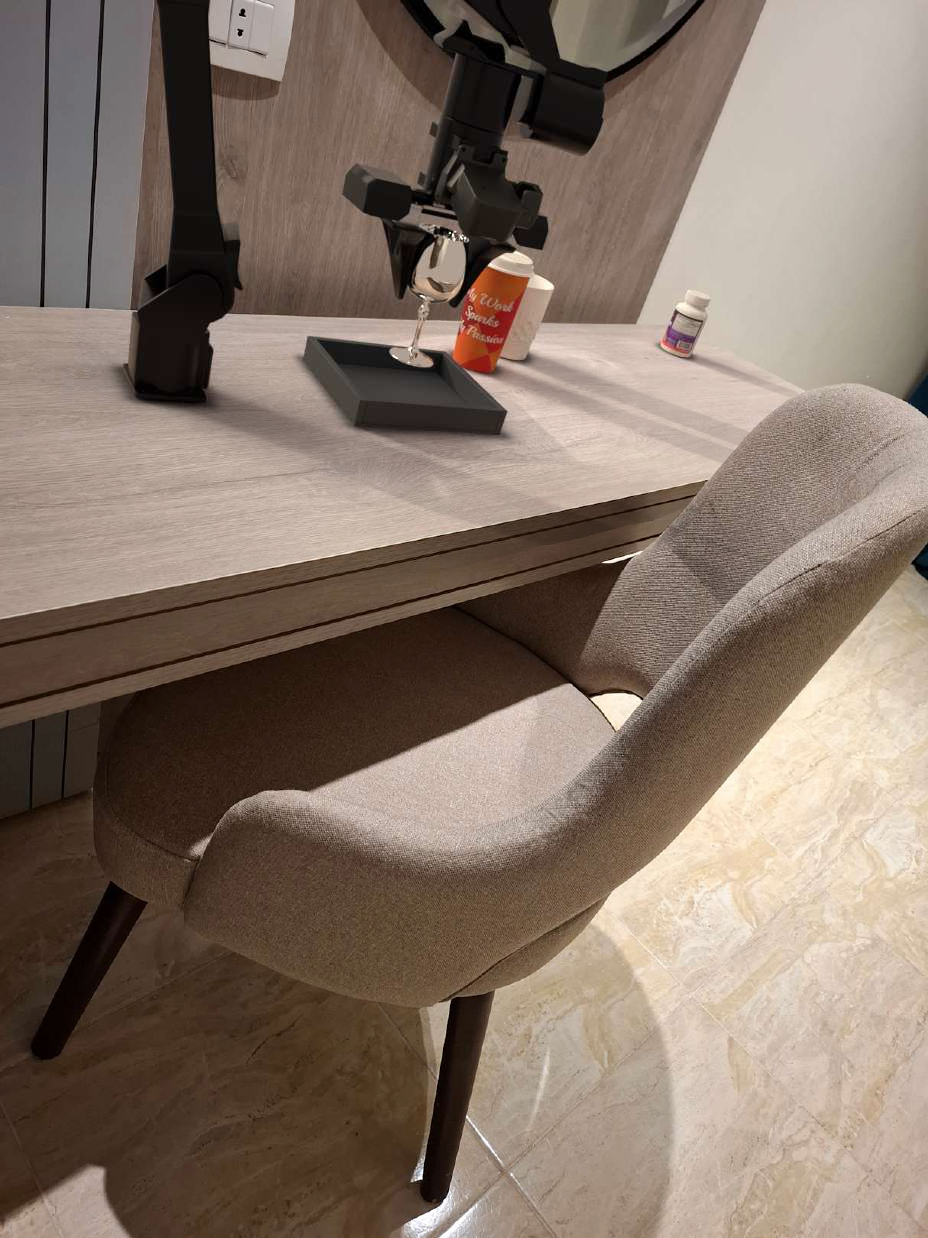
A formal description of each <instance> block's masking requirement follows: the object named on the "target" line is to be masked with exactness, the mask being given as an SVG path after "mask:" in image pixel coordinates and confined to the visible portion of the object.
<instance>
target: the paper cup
mask: <svg viewBox="0 0 928 1238" xmlns="http://www.w3.org/2000/svg"><path fill="white" fill-rule="evenodd" d="M533 264H534V261H533V259H531V258H530V257H529V256H527V255H525V254H524V253H521V252H519V251H517V250H516V251H515V252H514V253H505V254H503V255H501V256H499V257H497V258H495V259H494V260H492V261H491V262H490V264H489V265H488V266H487V267H486V268H485V269H484V270H483V272H482V273H481V274H480V276H479V277H478V278H477V280H476V281H475V283H474V284H473V285H472V287H471V288H470V290H469V291H468V292H467V294H466V295H465V298H464V304H463V308H462V312H461V318H460V322H459V325H458V331H457V334H456V339H455V344H454V348H453V352H452V358H453V359H454V360H455V361H456V362H457V363H458V364H459V365H460V366H461V367H462V368H464V369H467V370H469V371H473V372H477V373H482V374H489V373H492V372H494V370H495V368H496V366H497V363H498V361H499V359H500V354H501V351H502V349H503V346H504V344H505V341H506V339H507V336H508V333H509V331H510V328H511V326H512V323H513V321H514V318H515V315H516V313H517V310H518V308H519V305H520V302H521V300H522V297H523V295H524V292H525V289H526V287H527V284H528V282H529V279H530V277H534V276H535V275H536V273H535V272H534V269H535V266H534V265H533Z"/></svg>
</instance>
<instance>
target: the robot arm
mask: <svg viewBox="0 0 928 1238" xmlns="http://www.w3.org/2000/svg"><path fill="white" fill-rule="evenodd" d="M453 1H454V2H455V3H456V4H458V6H460V8H462V9H463V10H464V11H465V12H466V13H467V14H469V15H470V16H471V18H473V19H474V20H475V21H476V22H478V23H479V24H480V25H481V26H483V27H485V28H486V29H489V30H491V31H493V32H496V33H498V34H499V35H500V37H501V38H502V40H503V41H504V43H505V44H506V45H507V48H508V49H509V50H511V51H512V52H513V53H514V52H515V53H517V54H518V55H521V56H522V57H525V58H527V59H529V60H530V64H529V67H526V66H523V65H520V64H517V63H515V62H512V61H509V60H507V59H506V50H505V46H504V44H503V43H502V42H498V41H495V40H493V39H490V38H487V37H484V36H482V35H478V34H476V33H473V32H472V30H471V28H470V23H469V21H468V20H466V19H465V18H462V17H457V19H456V20H455V21H454V22H453V23H452V24H451V25H450V26H449V27H447V28H446V29H445V28H444V30H442V31H440V32H438V33H436V34H435V35H434V36H433V42H434V44H435V45H437V46H438V47H440V48H442V49H444V50H446V51H448V52H452V53H455V57H454V61H453V65H452V69H451V72H450V77H449V81H448V84H447V89H446V93H445V97H444V101H443V105H442V109H441V113H440V117H439V121H438V122H436V121H432V122H431V125H430V129H429V133H428V134H429V135H430V136H431V137H433V138H434V142H433V146H432V150H431V154H430V156H429V161H428V166H427V169H426V172H424V171H419V173H418V177H417V181H416V184H417V185H419V186H420V187H422V189H420V188H417V187H413V186H411V185H410V184H409V183H408V182H406V181H405V180H403V179H402V178H401V177H400V176H398V175H397V174H395V173H394V172H393V171H390V170H387V169H382V168H378V167H374V166H369V165H364V164H361V163H357V162H356V163H355V164H354V165H353V166H352V167H351V168H349V170H348V171H347V172H346V174H345V178H344V183H343V187H342V192H341V195H342V196H343V197H344V198H346V200H348V202H350V203H351V204H352V205H354V206H355V207H356V208H357V210H359V211H360V212H362V213H363V214H366V215H368V216H370V217H374V218H379V219H380V220H381V223H382V228H383V231H384V234H385V240H386V244H387V249H388V255H389V262H390V263H389V264H390V270H391V271H390V272H391V277H392V285H393V293H394V296H395V298H397V300H399V301H402V300H404V297H405V295H406V292H407V290H408V288H407V286H408V282H409V277H410V273H411V268H412V263H413V259H414V254H415V249H416V246H417V244H418V242H419V241H420V240H421V238H422V237H423V236H424V235H425V233H426V231H424V230H423V229H422V228H421V227H420V225H419V223H420V219H421V215H422V214H423V215H427V216H433V217H436V218H442V219H446V220H452V221H456V222H457V225H458V227H459V229H460V230H461V234H462V235H464V236H466V237H467V238H468V239H469V250H468V263H467V270H466V275H465V279H464V282H463V285H462V287H461V289H460V291H459V293H458V294H457V295H456V296H455V297H454V298H453V299H452V300H450V301H448V305H449V306H450V307H451V308H452V309H457V308H458V307H459V305H460V304H461V303H462V301H463V300H464V299H465V298H466V294H467V292H468V291H469V290H470V288H471V287H472V285H473V284H474V283H475V281H476V280H477V278H478V277H479V276H480V274H481V273H482V272H483V270H484V269H485V268H486V267H487V266H488V265H489V264H490V262H491V261H492V260H494V259H495V258H497V257H499V256H501V255H503V254H505V253H514V252H515V251H517V247H516V246H514V245H512V244H511V240H512V237H513V239H514V241H515V243H516V245H518V246H519V247H523V248H528V249H534V250H538V251H544V250H545V248H546V245H547V241H548V239H549V236H550V231H551V230H550V222H549V219H548V217H547V216H546V215H545V214H543V213H541V212H540V209H541V207H542V206H541V205H542V202H543V197H544V192H543V191H542V189H541V187H540V185H538V184H537V183H532V182H528V181H524V180H520V181H519V182H517V181H513V180H509V179H508V178H506V170H507V169H506V168H507V165H508V161H509V158H508V155H509V150H507V149H505V148H503V144H504V140H505V137H506V133H507V131H508V130H507V129H508V126H509V122H510V119H511V116H512V118H513V121H514V123H515V124H519V133H520V137H521V139H523V140H525V141H528V142H529V141H530V142H533V143H536V144H539V145H542V146H546V147H548V148H552V149H555V150H559V151H562V152H565V153H568V154H571V155H575V156H578V157H584V156H585V155H587V154H588V153H590V151H591V149H592V148H593V147H594V145H595V143H596V141H597V140H598V137H599V134H600V132H601V130H602V126H603V124H604V118H605V117H603V115H604V110H605V103H606V101H605V96H606V94H605V90H604V89H605V88H604V86H605V85H606V80H607V78H608V72H607V71H606V70H604V69H602V68H599V67H596V66H594V65H591V64H585V63H584V64H583V63H582V64H581V63H576V62H573V61H570V60H567V59H565V58H562V57H561V54H560V50H559V47H558V43H557V39H556V33H555V30H554V26H553V21H552V17H551V13H550V9H551V6H552V4H553V3H552V2H553V0H453ZM156 4H157V8H158V15H159V16H158V17H159V20H158V21H159V29H160V30H159V33H160V45H161V58H162V71H163V83H164V84H163V85H164V86H163V87H164V97H165V111H166V123H167V137H168V138H167V139H168V149H169V150H168V151H169V162H170V165H169V166H170V176H171V177H170V178H171V190H172V212H171V220H170V221H171V222H170V231H169V242H168V251H167V261H166V262H165V263H163V264H162V265H160V266H159V267H157V268H155V269H154V270H153V271H151V272H149V273H148V274H146V275H145V276H143V277H142V278H141V281H140V287H139V296H138V303H137V311H135V310H133V311H132V313H131V321H130V322H131V323H130V334H129V335H130V336H129V347H128V357H127V358H128V359H127V360H128V361H127V362H124V363H123V364H122V371H123V373H124V375H125V378H126V380H127V382H128V384H129V386H130V388H131V391H132V393H133V395H134V396H135V398H138V399H144V400H145V399H146V400H147V399H148V400H161V401H175V402H191V403H207V402H208V399H209V398H208V395H207V393H206V391H205V390H207V389H208V388H209V386H210V379H211V372H212V364H213V359H214V358H213V357H214V351H215V349H214V347H213V346H212V344H211V342H210V338H211V332H210V330H209V329H208V328H209V326H210V325H211V324H212V323H215V322H217V321H219V320H221V319H223V318H224V317H225V316H226V315H228V313H230V312H231V311H232V310H233V306H234V304H235V298H236V297H235V296H236V290H238V291H239V292H241V291H243V290H244V285H243V278H242V270H241V264H240V262H239V261H240V254H241V245H242V240H241V235H240V229H239V222H238V221H231V222H225V223H224V222H223V218H222V215H221V210H220V207H219V206H220V205H219V203H218V188H217V187H218V186H217V167H216V166H217V165H216V147H215V146H216V145H215V124H214V122H215V121H214V105H213V103H214V102H213V88H212V87H213V83H212V65H211V64H212V63H211V60H212V59H211V44H210V43H211V41H210V24H209V23H210V21H209V20H210V19H209V13H210V4H211V0H156Z"/></svg>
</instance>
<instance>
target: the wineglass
mask: <svg viewBox="0 0 928 1238" xmlns="http://www.w3.org/2000/svg"><path fill="white" fill-rule="evenodd" d="M419 226H420V227H421V228H422V229H423V230H424V231H426V233H425V235H424V236H423V237H422V238H421V240H420V241H419V242H418V244H417V246H416V249H415V254H414V259H413V263H412V268H411V273H410V277H409V282H408V286H407V290H408V291H409V292H410V293H411V294H412V295H413V296H414V297H415V298H417V299H418V300H420V301H422V304H420V306H419V308H418V311H417V324H416V330H415V334H414V338H413V341H412V343H410V345H409V346H407V347H408V348H405V347H406V346H403V347H393V348H391V349H390V354H391V355H392V356H393V357H394V358H395V359H397V360H399V361H401V362H403V363H406V364H408V365H412V366H416V367H431V366H432V365H433V360H432V359H431V358H430V357H429V356H427V355H426V354H424V353H422V352H420V351H419V349H418V348H419V340H420V336H421V333H422V329H423V327H424V324H425V321H426V320H427V318H428V316H429V315H430V307H429V305H430V304H444V303H447V302H449V301H450V300H452V299H453V298H454V297H455V296H456V295H457V294H458V293H459V291H460V289H461V287H462V285H463V282H464V279H465V275H466V270H467V263H468V250H469V239H468V238H467V237H466V236H464V235H462V233H460V232H458V231H456V230H454V229H451V228H449V227H445V226H442V225H438V224H435V223H427V222H425V223H420V225H419Z"/></svg>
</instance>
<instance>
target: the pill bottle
mask: <svg viewBox="0 0 928 1238" xmlns="http://www.w3.org/2000/svg"><path fill="white" fill-rule="evenodd" d="M711 300H712V298H711V296H709V295H707V294H706V293H704V292H701V291H698V290H695V289H687V291H686V293H685V295H684V301H681V302H678V303H677V304H676V306H675V309H674V311H673V312H672V316H671V317H670V320H669V323H668V326H667V327H666V330H665V333H664V335H663V338H662V340H661V342H660V347H661V349H662V350H664V351H665V352H667V353H669V354H671V355H674V356H677V357H680V358H690V357H691V356H692V354H693V353H694V350H695V347H696V345H697V342H698V340H699V338H700V335H701V333H702V331H703V329H704V327H705V324H706V322H707V319H708V316H709V314H708V312H707V310H706V308H708V307H709V304H710V302H711Z"/></svg>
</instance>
